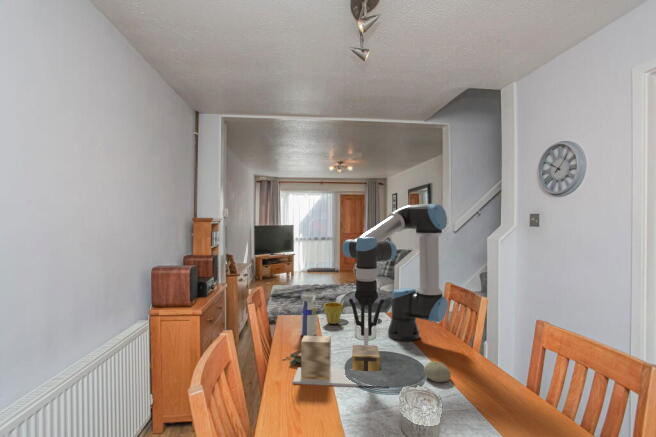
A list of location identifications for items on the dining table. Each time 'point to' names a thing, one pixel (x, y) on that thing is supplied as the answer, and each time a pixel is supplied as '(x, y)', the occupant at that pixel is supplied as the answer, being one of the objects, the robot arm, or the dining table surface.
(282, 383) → the dining table surface
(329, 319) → the plant pot
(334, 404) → the dining table surface
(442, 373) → the sea urchin shell
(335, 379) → the felt mat
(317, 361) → the oak block
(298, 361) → the decorative book
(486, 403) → the dining table surface
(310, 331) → the water bottle
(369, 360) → the walnut block
